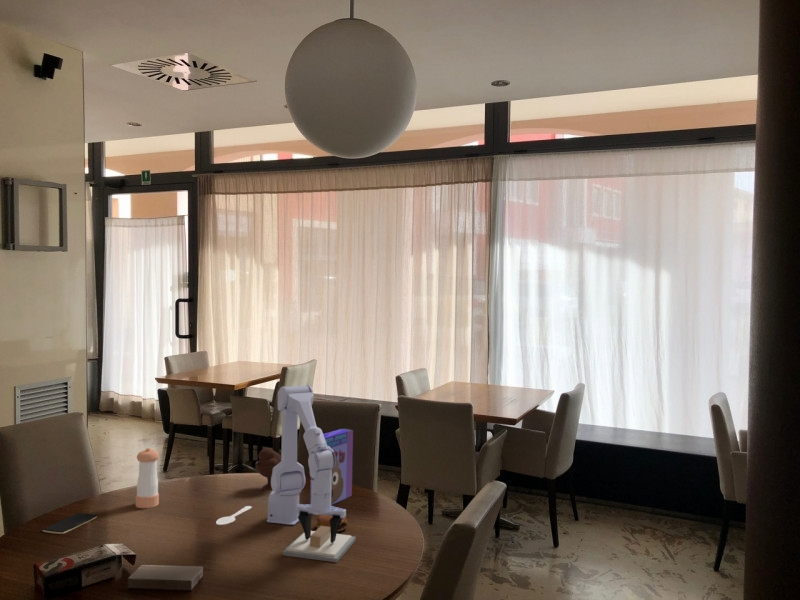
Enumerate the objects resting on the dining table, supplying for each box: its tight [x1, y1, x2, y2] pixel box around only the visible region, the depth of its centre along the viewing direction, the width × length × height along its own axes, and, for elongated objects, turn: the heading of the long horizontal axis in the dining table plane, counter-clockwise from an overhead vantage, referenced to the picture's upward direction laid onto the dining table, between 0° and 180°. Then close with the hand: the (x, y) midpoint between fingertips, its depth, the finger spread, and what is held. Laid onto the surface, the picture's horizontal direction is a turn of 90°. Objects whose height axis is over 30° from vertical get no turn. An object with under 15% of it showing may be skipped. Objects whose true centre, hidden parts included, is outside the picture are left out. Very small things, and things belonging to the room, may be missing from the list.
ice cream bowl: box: [254, 447, 281, 492], centre depth 231 cm, size 11×11×15 cm
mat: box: [282, 531, 357, 563], centre depth 178 cm, size 16×16×1 cm
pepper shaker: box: [135, 447, 160, 509], centre depth 211 cm, size 7×7×19 cm
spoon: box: [215, 505, 253, 526], centre depth 202 cm, size 5×18×1 cm, turn 161°
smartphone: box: [42, 512, 98, 535], centre depth 192 cm, size 7×1×15 cm
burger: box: [316, 515, 349, 533], centre depth 193 cm, size 10×9×5 cm
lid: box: [286, 526, 352, 557], centre depth 178 cm, size 14×14×4 cm
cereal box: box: [309, 428, 354, 506], centre depth 217 cm, size 17×5×24 cm, turn 148°
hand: (320, 539), depth 178 cm, fingers open, 7 cm apart
